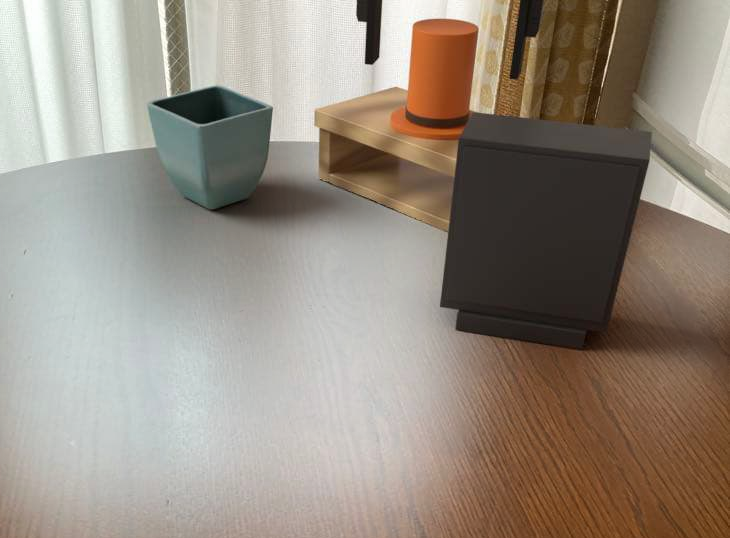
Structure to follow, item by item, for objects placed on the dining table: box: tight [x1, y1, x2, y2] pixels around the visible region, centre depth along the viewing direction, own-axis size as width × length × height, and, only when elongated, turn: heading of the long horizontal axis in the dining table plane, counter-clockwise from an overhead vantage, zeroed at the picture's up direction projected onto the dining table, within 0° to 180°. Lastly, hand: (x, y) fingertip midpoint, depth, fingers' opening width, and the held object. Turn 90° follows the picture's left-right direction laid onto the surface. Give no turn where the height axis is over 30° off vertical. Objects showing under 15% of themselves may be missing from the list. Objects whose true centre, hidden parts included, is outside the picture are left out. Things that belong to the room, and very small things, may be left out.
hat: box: [390, 18, 480, 140], centre depth 87 cm, size 9×9×8 cm
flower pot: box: [146, 84, 274, 211], centre depth 89 cm, size 9×9×9 cm
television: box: [439, 111, 653, 351], centre depth 70 cm, size 7×13×14 cm, turn 74°
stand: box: [313, 86, 479, 233], centre depth 92 cm, size 22×12×7 cm, turn 44°
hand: (442, 68), depth 86 cm, fingers open, 13 cm apart
